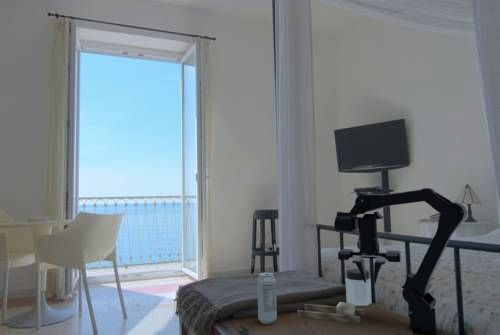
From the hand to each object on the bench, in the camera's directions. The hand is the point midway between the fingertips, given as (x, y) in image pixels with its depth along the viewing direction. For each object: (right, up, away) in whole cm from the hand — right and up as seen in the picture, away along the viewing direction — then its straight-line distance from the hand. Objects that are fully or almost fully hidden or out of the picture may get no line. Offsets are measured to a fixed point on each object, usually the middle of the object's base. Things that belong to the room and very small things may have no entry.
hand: (370, 283), depth 122 cm
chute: (-11, -13, +4) cm, 18 cm away
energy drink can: (-32, -13, +2) cm, 35 cm away
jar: (+2, -14, +19) cm, 24 cm away
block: (-7, -12, +2) cm, 14 cm away
